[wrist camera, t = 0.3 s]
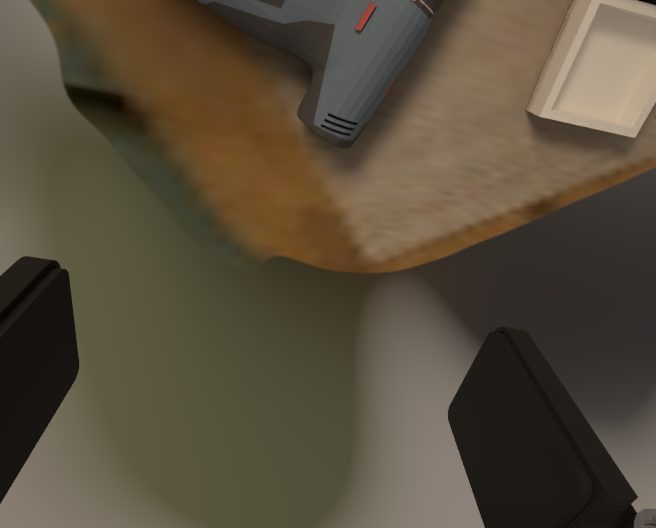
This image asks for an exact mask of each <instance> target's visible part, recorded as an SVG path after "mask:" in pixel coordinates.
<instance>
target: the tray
mask: <svg viewBox="0 0 656 528" xmlns="http://www.w3.org/2000/svg"><path fill="white" fill-rule="evenodd" d="M655 103H656V5H652V4H649V3H645V2H641V1H638V0H573V1H572V3H571V6H570V8H569V10H568V13H567V15H566V17H565V19H564V22H563V24H562V26H561V29H560V31H559V33H558V36H557V38H556V40H555V43H554V45H553V47H552V50H551V52H550V54H549V57H548V59H547V61H546V64H545V66H544V68H543V71H542V73H541V75H540V77H539V80H538V82H537V84H536V87H535V89H534V91H533V94H532V96H531V98H530V101H529V103H528V105H527V108H526V110H527V111H529V112H531V113H533V114H535V115H537V116H539V117H543V118H547V119H552V120H556V121H561V122H565V123H570V124H574V125H579V126H583V127H588V128H592V129H597V130H602V131H606V132H611V133H615V134H620V135H624V136H629V137H633V138H635V137H636V135H637V134H638V132H639V130H640V128H641V127H642V125H643V123H644V122H645V120H646V118H647V116H648V115H649V113H650V111H651V109H652V108H653V106H654V104H655Z"/></svg>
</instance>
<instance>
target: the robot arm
mask: <svg viewBox="0 0 656 528" xmlns="http://www.w3.org/2000/svg"><path fill="white" fill-rule="evenodd" d="M78 370H79V358H78V349H77V341H76V333H75V324H74V315H73V306H72V298H71V290H70V281H69V274H68V272H67V270H65V269H61V268H60V265H59V263H58V262H57V261H55V260H47V259H41V258H34V257H28V256H25V257H22V258H20V259H19V260H18V261H17V262H15V263H14V264H13V265H12V266H11V267H10V268H9V269H8V270H6V271H5V272H4V273H3V274H2V275H1V276H0V503H1V502H2V500H3V498H4V497H5V495H6V494H7V492H8V490H9V489H10V487H11V485H12V483H13V482H14V480H15V478H16V477H17V475H18V474H19V472H20V470H21V469H22V467H23V465H24V464H25V462H26V460H27V459H28V457H29V455H30V454H31V452H32V450H33V449H34V447H35V445H36V444H37V442H38V441H39V439H40V437H41V436H42V434H43V432H44V431H45V429H46V427H47V426H48V424H49V422H50V421H51V419H52V417H53V416H54V414H55V413H56V411H57V409H58V408H59V406H60V404H61V402H62V401H63V399H64V397H65V396H66V394H67V393H68V391H69V389H70V388H71V386H72V384H73V383H74V381H75V379H76V377H77V374H78ZM448 420H449V423H450V427H451V430H452V432H453V435H454V438H455V441H456V444H457V447H458V450H459V453H460V456H461V459H462V461H463V465H464V467H465V470H466V474H467V476H468V479H469V482H470V485H471V488H472V491H473V494H474V497H475V500H476V503H477V506H478V509H479V511H480V514H481V518H482V520H483V523H484V526H485V528H656V509H643V510H641V511H640V512H638V513H636V511H635V509H634V508H633V506H632V505H631V503H632V502H633V501H634V500H636V499H637V498H638V496H637V495H636V494H635V492H634V491H633V489H632V488H631V486H630V485H629V483H628V482H627V480H626V479H625V477H624V476H623V474H622V473H621V471H620V470H619V468H618V467H617V465H616V464H615V462H614V461H613V460H612V458H611V456H610V455H609V453H608V452H607V450H606V449H605V447H604V446H603V444H602V443H601V441H600V440H599V438H598V437H597V435H596V434H595V432H594V431H593V429H592V428H591V426H590V425H589V423H588V422H587V420H586V419H585V418H584V416H583V414H582V413H581V411H580V410H579V408H578V407H577V405H576V404H575V403H574V401H573V400H572V398H571V396H570V395H569V394H568V392H567V391H566V389H565V387H564V386H563V385H562V383H561V382H560V380H559V379H558V377H557V376H556V374H555V373H554V371H553V370H552V368H551V367H550V365H549V364H548V362H547V361H546V359H545V358H544V356H543V355H542V353H541V352H540V350H539V349H538V347H537V346H536V344H535V343H534V341H533V340H532V338H531V337H530V335H529V334H528V333H527V332H526V331H524V330H520V329H514V328H507V327H499V328H497V329H496V330H495V331H494V332H490V333H489V334H488V336H487V337H486V339H485V341H484V343H483V345H482V347H481V348H480V350H479V352H478V354H477V356H476V358H475V360H474V361H473V363H472V365H471V367H470V369H469V371H468V373H467V374H466V376H465V378H464V380H463V382H462V384H461V386H460V388H459V389H458V391H457V393H456V395H455V397H454V399H453V401H452V402H451V404H450V406H449V410H448Z"/></svg>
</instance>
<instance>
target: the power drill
mask: <svg viewBox="0 0 656 528" xmlns="http://www.w3.org/2000/svg"><path fill="white" fill-rule="evenodd" d="M197 1H199V2H200V3H201V4H203V5H204V6H206V7H207V8H209V9H210V10H211V11H213V12H214V13H216V14H217V15H219V16H220V17H221V18H223V19H224V20H226V21H227V22H228V23H230V24H232V25H234V26H235V27H237V28H239V29H240V30H242V31H244V32H246V33H247V34H249V35H251V36H252V37H254V38H256V39H258V40H259V41H261V42H263V43H265V44H266V45H269V46H271V47H274V48H276V49H279V50H282V51H285V52H287V53H290V54H292V55H294V56H295V57H297V58H299V59H300V60H302V61H303V62H304V63H306V64H307V65H308V66H309V67H310V68H311V70H312V73H313V77H312V81H311V85H310V87H309V89H308V91H307V93H306V95H305V97H304V99H303V101H302V102H301V104H300V106H299V109H298V112H297V116H298V117H299V119H300V120H301V121H302V122H303V123H304V124H305V125H306V126H308V127H309V128H310V129H311V130H312V131H314V132H315V133H317V134H318V135H319V136H321V137H322V138H324V139H325V140H327V141H329V142H330V143H332V144H334V145H336V146H338V147H341V148H348V147H350V146H351V145H352V144H353V143H354V142H355V140H356V139H357V137H358V136H359V134H360V133H361V131H362V130H363V128H364V127H365V125H366V124H367V122H368V121H369V119H370V118H371V116H372V115H373V113H374V112H375V110H376V109H377V107H378V106H379V105H380V103H381V102H382V100H383V99H384V97H385V94H386V95H387V94H388V91H389V89H390V88H391V86H392V85H393V83H394V82H396V81H397V80H396V79H395V78H396V77H397V75H398V74H399V73H400V72H402V71H403V69H404V68H405V66H406V65H407V63H408V62H409V60H410V59H411V57H412V56H413V54H414V52H415V51H416V49H417V48H418V46H419V45H420V43H421V42H422V40H423V39H424V37H425V35H426V34H427V32H428V30H429V28H430V21H431V20H432V18H433V16H434V15H435V14H436V12H437V10H438V9H439V7H440V5H441V3H442V1H443V0H197Z"/></svg>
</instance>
